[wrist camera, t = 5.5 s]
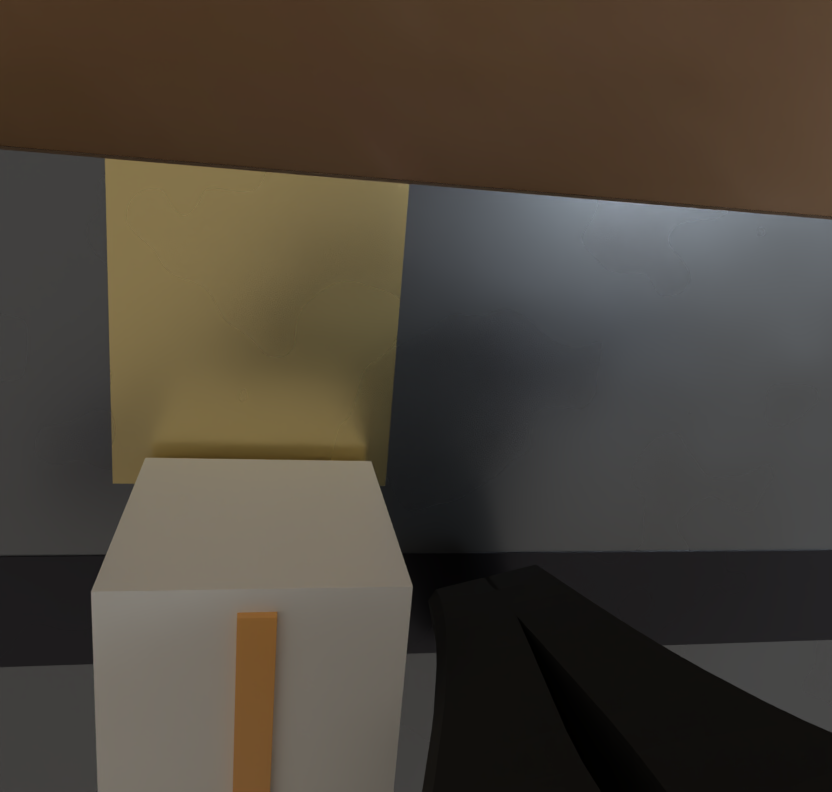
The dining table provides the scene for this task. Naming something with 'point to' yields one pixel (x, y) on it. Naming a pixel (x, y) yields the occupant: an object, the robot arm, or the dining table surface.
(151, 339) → the console
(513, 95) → the dining table surface
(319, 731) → the fader
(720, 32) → the dining table surface
